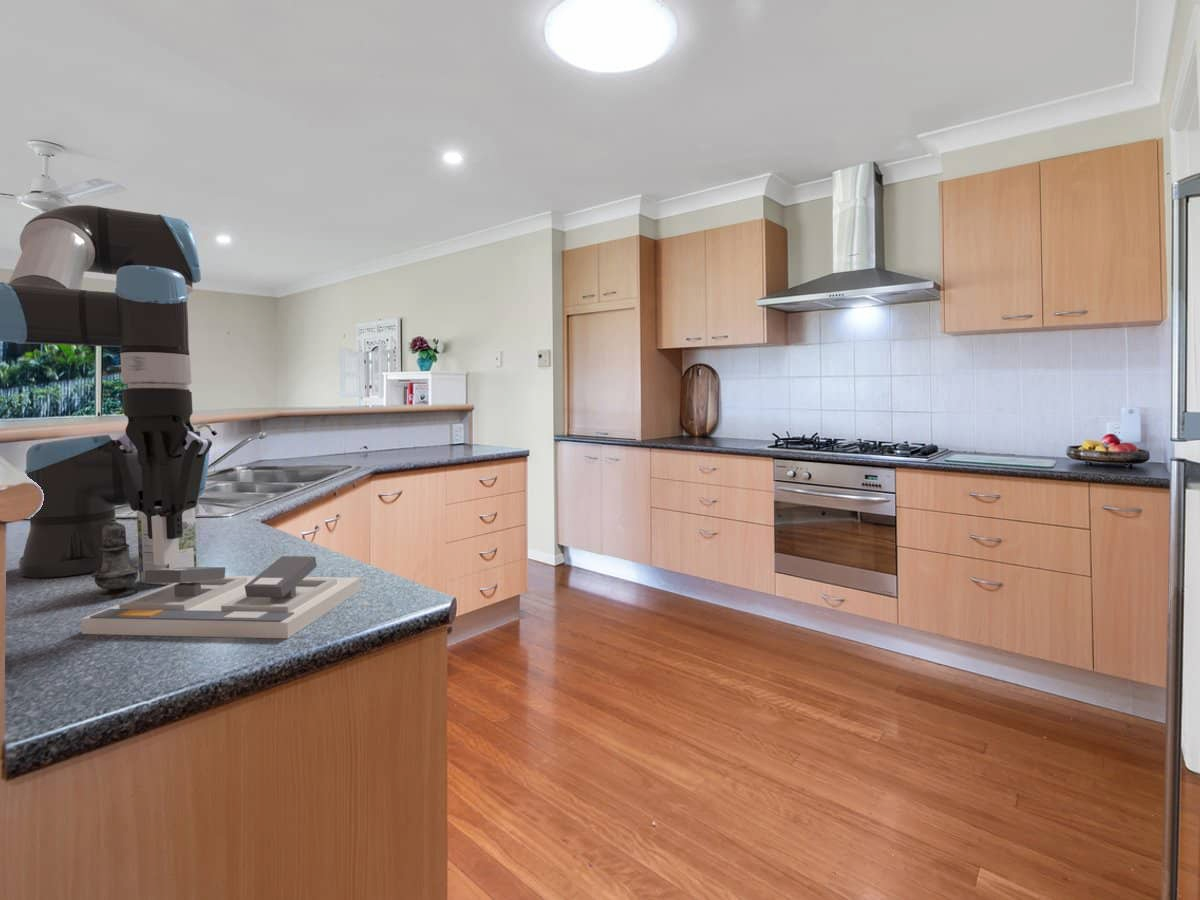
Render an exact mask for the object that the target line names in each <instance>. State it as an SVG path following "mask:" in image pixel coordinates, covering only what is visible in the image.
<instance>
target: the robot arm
mask: <svg viewBox="0 0 1200 900" xmlns="http://www.w3.org/2000/svg"><path fill="white" fill-rule="evenodd" d="M19 247H20V249H21V254H20V256H19V258H18V260H17V263H16V265H15V268H14V270H13V272H12V274H11V277H10V279H9V281H8V282H4V281H0V342H5V343H7V342H8V343H15V344H18V345H24V344H31V345H32V344H33V345H34V344H35V345H62V346H63V345H66V346H67V345H68V346H91V347H108V348H109V347H113V348H114V347H115V348H119V355H120V368H121V373H120V374H121V383H123V385H127V388H124V389H123V391H121V393H122V410H123V411H122V413H123V415H124V416H125V417H127V421H128V422H127V425H126V427H125V431H124V432H125V433H124V434H123V435H122V436H120V437H119V438H118V439H113V438H111V435H109V434H102V435H101V434H100V435H92V436H89V435H88V436H83V437H82V436H81V437H74V438H67V439H60V440H58V439H57V440H52V441H44V442H41V443H36V444H32V445H31V446H30V447H29V448H28V449H27V451H26V454H25V458H26V459H25V461H26V462H25V470H24V473H25V474H26V477H27V476H28V477H29V478H30V479H32V480H33V481H34V482H36V483H37V484H38V485H39V486H40V487H41V489H42V490H43V493H44V501H43V505H42V507H41V509H40V510H39V511H38V512H37V513H36V514H35V515H34V516H33V517H31V518H30V517H29V524H30V526H29V533H28V535H27V538H26V543H25V546H24V551H23V556H21V557H20V559H19V561H18V571H19V575H20V574H21V575H23V576H22V577H24V576H26V578H33V579H34V578H36V579H38V578H39V579H40V578H41V579H42V578H58V577H59V578H60V577H69V576H75V575H76V576H77V575H83V574H90V573H91V574H92V573H95V572H97V571H99V570H100V569H101V568H102V564H103V551H102V550H100V548H101V547H103V541H102V528H103V527H104V526H105V525H107V524H109V523H111V518H112V517H114V518H115V519H116V518H117V517H116V506H126V505H129V506H130V509H131V510H132V511H134V512H137V511H140V512H143V513H144V514H145V515H146V516H147V527H148V536H149V539H153V555H154V565H166V564H169V563H172V562H175V561H179V560H180V556H179V537H182V534H183V526H182V514H183V512H184V511H186V510H189V509H192V508H196V507H197V505H198V499H199V498H200V497H202V495H203V494H204V492H205V490H206V486H207V477H208V471H209V470H208V469H209V460H210V449H211V447H212V445H213V442H212V440H211V439H209V438H202V437H201V430H200V429H199V428H198V427H197V426H195V425H194V424H193V422H191V416H192V415H193V413H194V412H193V411H194V410H193V395H192V394H193V393H192V391H191V390H190V389H189V386H191V384H192V370H191V355H190V349H189V344H190V343H189V314H188V300H189V295H190V294H191V293H192V292H193V290H194V289H193V284H197V283H199V282H201V279H202V276H201V268H200V259H199V253H198V248H197V243H196V240H195V236H194V232H193V229H192V227H191V226H190V224H189V223H188V222H187V221H185V220H183V219H182V218H176V217H170V216H165V215H163V214H154V213H144V212H137V211H131V210H123V209H115V208H109V207H102V206H101V207H100V206H96V205H91V204H90V205H87V204H79V205H78V204H77V205H69V206H68V205H67V206H63V207H59V208H55V209H51V210H48V211H45V212H42V213H40V214H38V215H35V216H34V217H33V218H31V219H30V220H29V221H28V222H27V223H26V224H25V226H24V227H23V229H22V231H21V233H20V236H19ZM85 272H86V273H87V272H88V273H98V274H105V275H116V277H115V284H116V285H115V289H114V291H115V292H112V291H100V290H85V289H81V288H82V283H83V279H84V274H85ZM115 522H117V519H116V520H115ZM129 547H130V546H129ZM129 547H128V548H127V553H128V561H129V562H130V560H131V558H130V557H131V555H130V548H129ZM21 575H20V576H21Z"/></svg>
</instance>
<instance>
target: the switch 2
mask: <svg viewBox="0 0 1200 900" xmlns="http://www.w3.org/2000/svg"><path fill="white" fill-rule="evenodd" d="M316 568H317V559H316V556H308V555H307V556H300V555H299V556H298V555H297V556H295V555H293V556H291V555H289V556H288V555H287V556H285V555H282V556H280V557H279V558H278V559H277V560H275V561H274V562H273V563H272V564H271V565H269V566H268V567H267V568H266V569H264V570H263V571H261V572H260V573H259V574H258V575H256V576H257V577H255V578H254V579H253V580H252V581H250V582H249V583H248V584H247V585H245V591H246V596H247V597H280V598H283V597H284V596H285V595H286V594H287V593H288V592H289V591H290V590H292V589H293V588H294V587H295V586H296V585H297V584H298V583H299V582H300V581H301V580H303V579H304V578H305V577H308V575H309V574H310V573H311V572H312V571H314V570H315V569H316Z"/></svg>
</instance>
